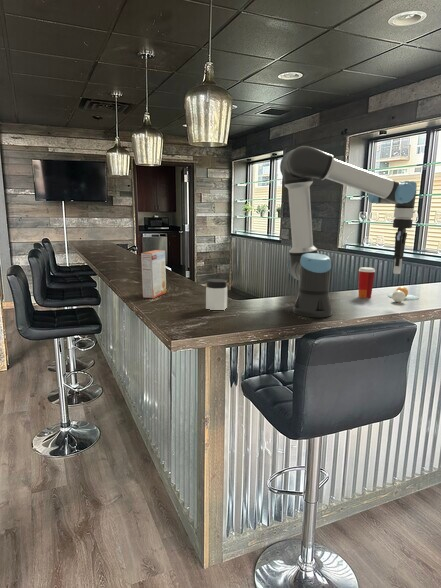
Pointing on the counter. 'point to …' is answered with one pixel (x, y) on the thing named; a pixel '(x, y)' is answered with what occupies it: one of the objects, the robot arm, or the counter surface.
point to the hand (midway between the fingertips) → (396, 273)
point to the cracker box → (153, 273)
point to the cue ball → (398, 296)
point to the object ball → (403, 290)
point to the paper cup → (366, 281)
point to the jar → (216, 294)
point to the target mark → (408, 297)
